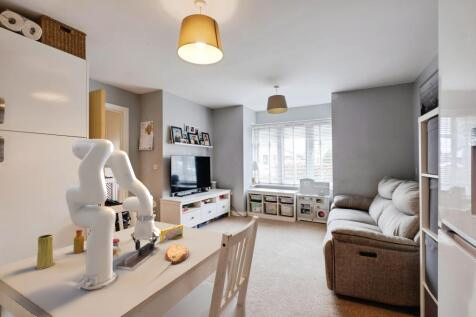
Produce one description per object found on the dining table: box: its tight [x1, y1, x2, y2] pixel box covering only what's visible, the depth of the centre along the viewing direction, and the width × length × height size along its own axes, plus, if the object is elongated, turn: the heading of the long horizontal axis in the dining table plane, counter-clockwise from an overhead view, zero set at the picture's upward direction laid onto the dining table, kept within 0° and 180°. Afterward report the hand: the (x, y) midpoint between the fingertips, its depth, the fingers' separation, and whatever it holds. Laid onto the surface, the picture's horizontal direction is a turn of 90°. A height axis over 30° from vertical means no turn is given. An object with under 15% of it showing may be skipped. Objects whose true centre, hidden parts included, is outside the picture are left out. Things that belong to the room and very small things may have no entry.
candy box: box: [159, 224, 184, 243], centre depth 141 cm, size 16×2×8 cm, turn 143°
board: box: [115, 246, 159, 269], centre depth 115 cm, size 24×9×1 cm, turn 171°
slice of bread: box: [165, 243, 189, 265], centre depth 119 cm, size 18×18×4 cm
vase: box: [35, 234, 54, 270], centre depth 105 cm, size 6×6×14 cm
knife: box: [124, 242, 151, 266], centre depth 114 cm, size 21×2×3 cm, turn 171°
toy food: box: [72, 229, 121, 256], centre depth 122 cm, size 27×13×12 cm, turn 73°
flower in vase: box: [153, 199, 161, 236], centre depth 150 cm, size 13×11×25 cm
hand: (144, 249), depth 120 cm, fingers open, 7 cm apart
